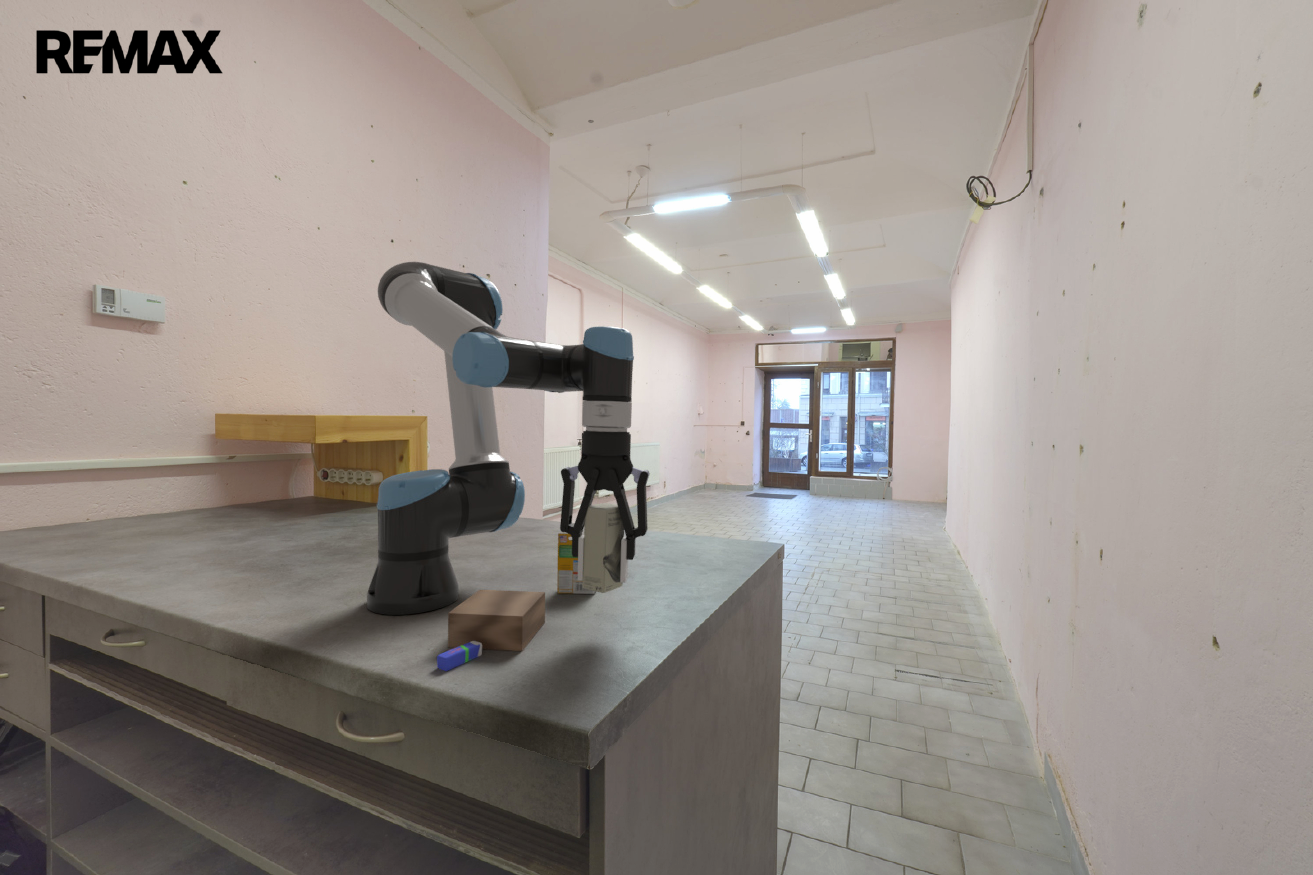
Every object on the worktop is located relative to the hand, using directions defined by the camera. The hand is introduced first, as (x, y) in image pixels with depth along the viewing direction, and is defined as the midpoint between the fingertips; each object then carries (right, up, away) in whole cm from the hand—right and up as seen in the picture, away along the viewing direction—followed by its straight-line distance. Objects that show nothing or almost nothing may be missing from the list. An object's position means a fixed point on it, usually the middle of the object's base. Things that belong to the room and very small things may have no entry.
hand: (602, 578), depth 83 cm
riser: (-16, -8, -1) cm, 18 cm away
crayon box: (-7, -8, +21) cm, 23 cm away
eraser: (-18, -9, -10) cm, 23 cm away
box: (0, -2, 0) cm, 2 cm away
